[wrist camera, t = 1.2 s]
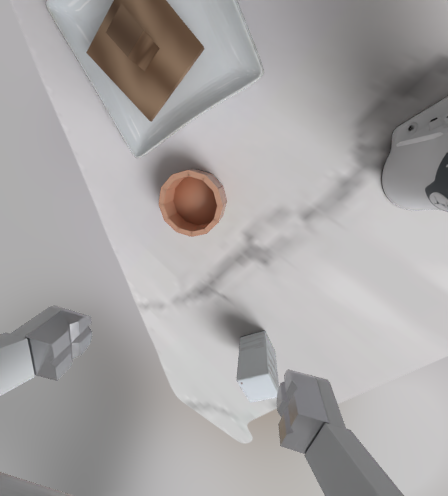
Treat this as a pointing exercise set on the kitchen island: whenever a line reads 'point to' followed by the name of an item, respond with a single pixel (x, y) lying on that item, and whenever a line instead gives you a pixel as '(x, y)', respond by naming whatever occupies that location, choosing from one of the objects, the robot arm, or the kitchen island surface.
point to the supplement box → (257, 367)
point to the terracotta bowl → (192, 202)
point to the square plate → (195, 81)
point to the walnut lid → (145, 51)
